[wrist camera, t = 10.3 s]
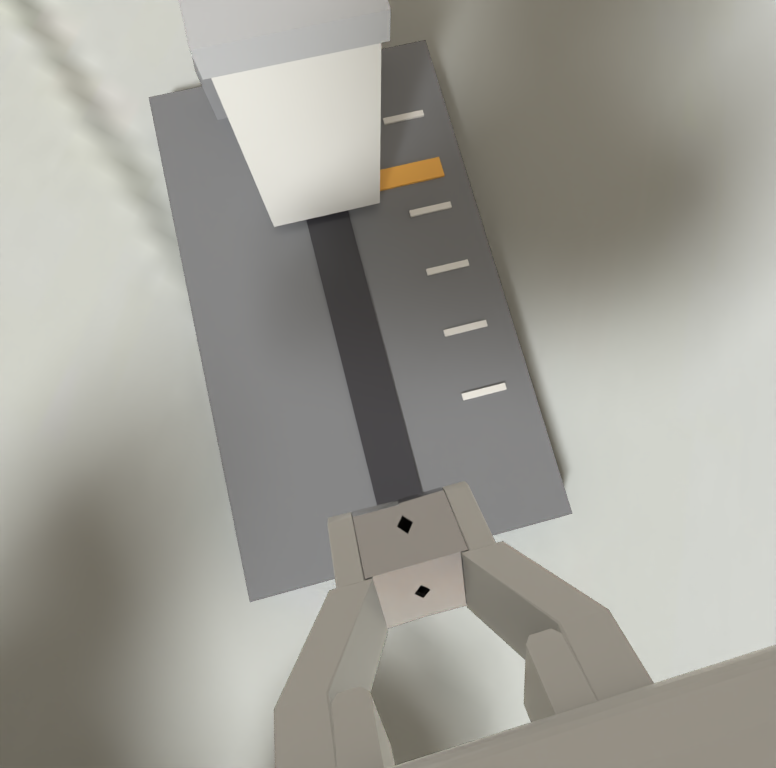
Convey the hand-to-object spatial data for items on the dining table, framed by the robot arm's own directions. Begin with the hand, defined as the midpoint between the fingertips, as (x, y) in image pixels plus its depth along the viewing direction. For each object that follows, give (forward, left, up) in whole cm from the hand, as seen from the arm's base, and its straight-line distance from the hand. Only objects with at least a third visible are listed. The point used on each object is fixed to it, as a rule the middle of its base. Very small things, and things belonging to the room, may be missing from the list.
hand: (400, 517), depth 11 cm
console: (-8, +5, -12) cm, 16 cm away
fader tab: (-12, +8, -10) cm, 18 cm away
